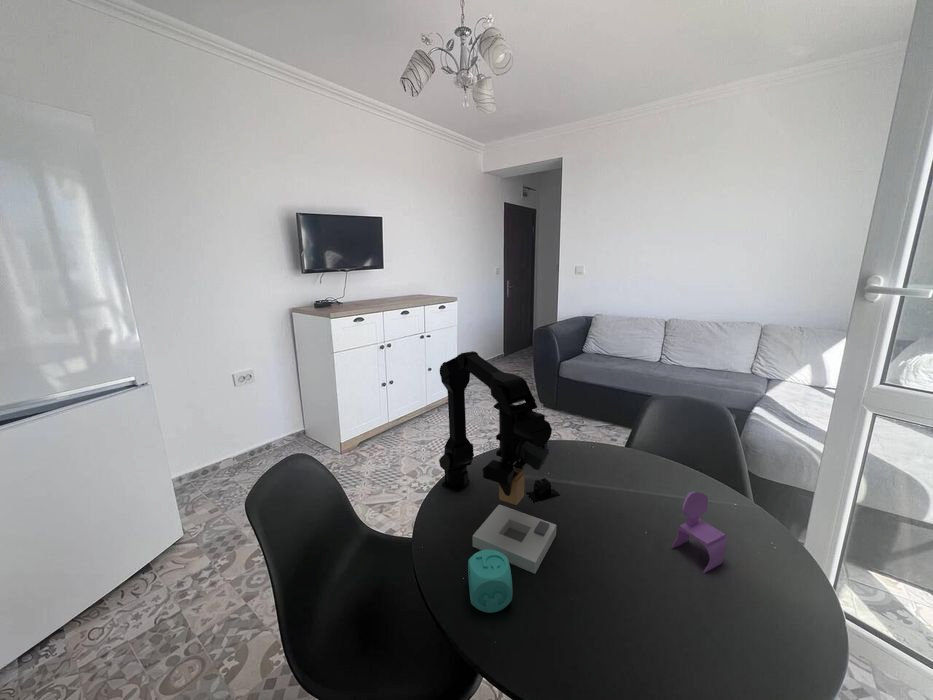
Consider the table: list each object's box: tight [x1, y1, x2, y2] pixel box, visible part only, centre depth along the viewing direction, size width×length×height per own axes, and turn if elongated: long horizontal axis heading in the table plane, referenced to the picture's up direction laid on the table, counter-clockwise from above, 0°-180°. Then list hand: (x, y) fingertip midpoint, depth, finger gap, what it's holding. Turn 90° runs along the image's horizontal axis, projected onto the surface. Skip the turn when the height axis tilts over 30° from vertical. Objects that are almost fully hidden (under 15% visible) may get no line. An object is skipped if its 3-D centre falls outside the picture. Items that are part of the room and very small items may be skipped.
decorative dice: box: [467, 549, 513, 614], centre depth 77 cm, size 8×8×8 cm
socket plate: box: [472, 504, 558, 575], centre depth 92 cm, size 16×14×4 cm
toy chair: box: [670, 491, 727, 574], centre depth 85 cm, size 8×9×15 cm
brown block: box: [498, 467, 525, 506], centre depth 91 cm, size 5×5×7 cm
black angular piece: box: [525, 477, 561, 504], centre depth 111 cm, size 12×7×5 cm, turn 112°
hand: (511, 490), depth 92 cm, fingers closed on brown block, 5 cm apart
